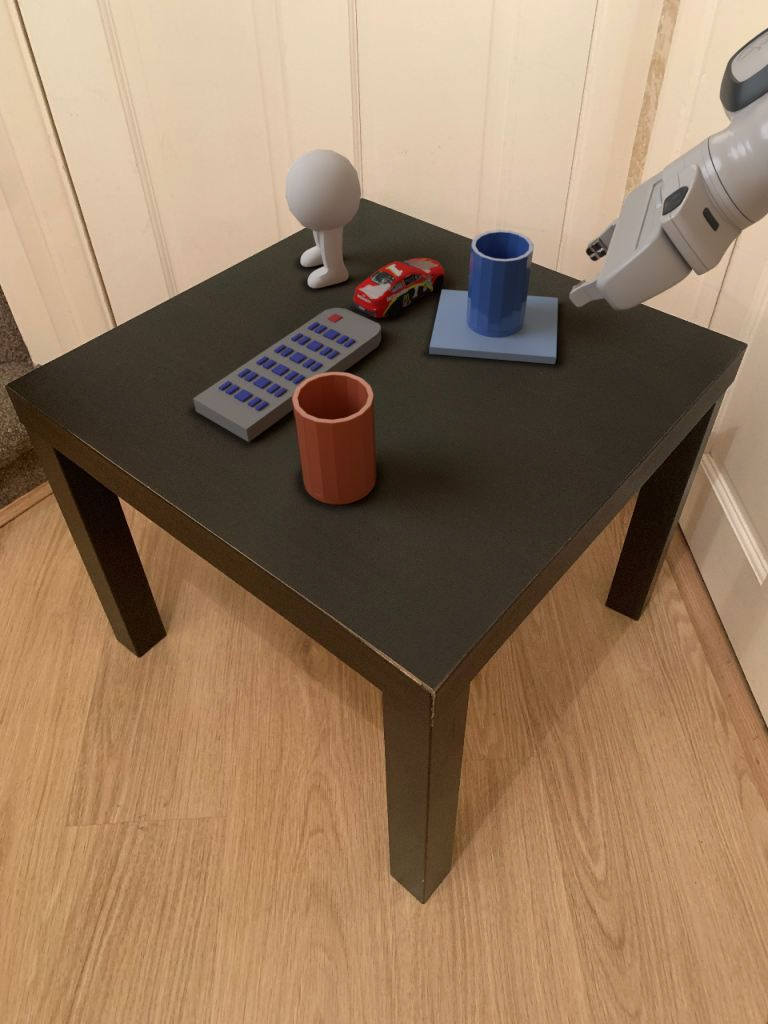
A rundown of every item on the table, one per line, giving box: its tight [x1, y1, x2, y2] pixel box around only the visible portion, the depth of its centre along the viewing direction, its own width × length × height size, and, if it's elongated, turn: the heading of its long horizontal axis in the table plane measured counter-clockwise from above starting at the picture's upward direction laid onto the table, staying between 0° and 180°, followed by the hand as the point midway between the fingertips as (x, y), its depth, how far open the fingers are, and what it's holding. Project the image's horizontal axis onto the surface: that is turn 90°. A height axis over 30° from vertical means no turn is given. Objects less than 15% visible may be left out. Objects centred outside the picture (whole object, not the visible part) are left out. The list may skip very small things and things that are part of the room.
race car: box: [352, 257, 446, 318], centre depth 96 cm, size 13×5×4 cm, turn 134°
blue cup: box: [466, 229, 535, 338], centre depth 88 cm, size 7×7×10 cm
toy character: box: [285, 148, 362, 289], centre depth 96 cm, size 9×9×15 cm
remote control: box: [192, 307, 382, 443], centre depth 87 cm, size 8×23×2 cm, turn 141°
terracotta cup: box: [292, 371, 378, 506], centre depth 72 cm, size 7×7×10 cm
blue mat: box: [428, 288, 559, 365], centre depth 92 cm, size 14×12×1 cm
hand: (582, 275), depth 83 cm, fingers open, 8 cm apart
